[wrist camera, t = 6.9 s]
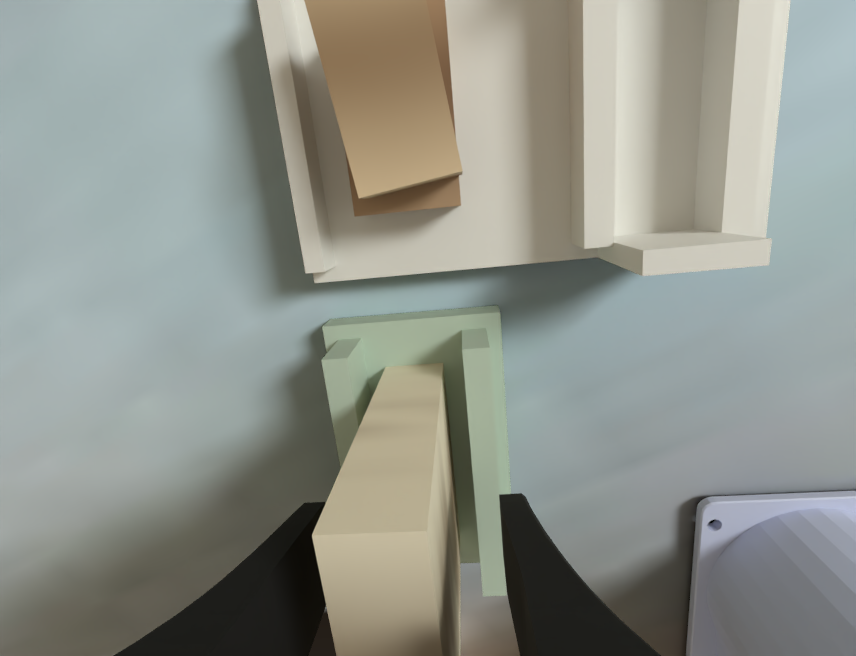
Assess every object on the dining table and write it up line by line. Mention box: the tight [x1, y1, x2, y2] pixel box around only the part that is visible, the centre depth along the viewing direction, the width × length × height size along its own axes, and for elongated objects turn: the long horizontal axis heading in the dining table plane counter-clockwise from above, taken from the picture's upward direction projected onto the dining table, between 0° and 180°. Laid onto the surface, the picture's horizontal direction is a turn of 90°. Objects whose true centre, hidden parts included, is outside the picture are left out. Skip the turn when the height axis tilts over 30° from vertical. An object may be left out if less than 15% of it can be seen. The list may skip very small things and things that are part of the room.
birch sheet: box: [312, 363, 461, 656], centre depth 12 cm, size 7×2×8 cm, turn 6°
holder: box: [321, 305, 511, 596], centre depth 16 cm, size 10×6×3 cm, turn 6°
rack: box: [257, 0, 790, 283], centre depth 12 cm, size 9×14×4 cm, turn 96°
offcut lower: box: [345, 0, 461, 217], centre depth 12 cm, size 5×3×2 cm, turn 6°
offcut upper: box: [304, 0, 463, 198], centre depth 11 cm, size 4×3×2 cm, turn 14°
